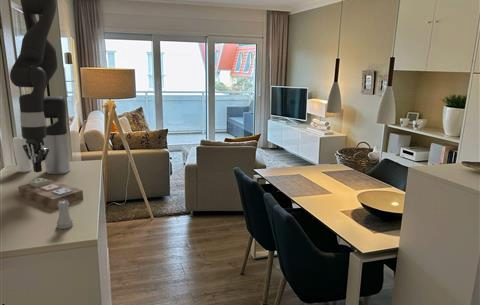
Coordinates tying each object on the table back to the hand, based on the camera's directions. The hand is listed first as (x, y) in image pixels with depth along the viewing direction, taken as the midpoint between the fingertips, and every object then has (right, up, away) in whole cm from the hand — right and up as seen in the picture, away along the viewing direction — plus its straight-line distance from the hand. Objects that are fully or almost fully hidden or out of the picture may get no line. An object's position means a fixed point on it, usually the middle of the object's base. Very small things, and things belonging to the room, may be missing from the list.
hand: (37, 171), depth 126 cm
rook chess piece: (+21, -15, -23) cm, 35 cm away
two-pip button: (+12, -9, -5) cm, 15 cm away
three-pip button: (0, -6, +2) cm, 6 cm away
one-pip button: (+6, -8, -2) cm, 10 cm away
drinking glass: (-22, -1, +28) cm, 36 cm away
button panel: (+6, -9, -1) cm, 11 cm away
